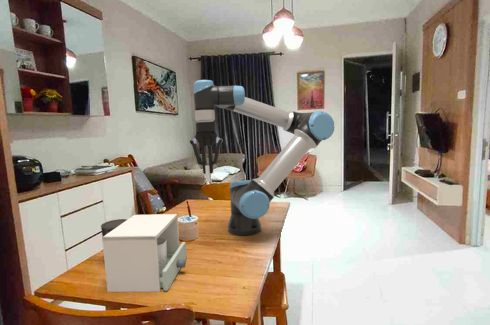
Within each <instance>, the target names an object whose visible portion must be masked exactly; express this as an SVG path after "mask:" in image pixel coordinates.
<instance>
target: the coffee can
mask: <svg viewBox="0 0 490 325" xmlns="http://www.w3.org/2000/svg"><path fill="white" fill-rule="evenodd" d="M128 219H129V218H127V219H125V218H119V219H112V220H108V221H106V222H104V223H101V225H100V228H101V236H102V237H104V236H105V235H106V234H108V233H109V232H111V231H112V230H114V229H115V228H116V227H118V226H119V225H121V224H122V223H123V222H125V221H126V220H128ZM102 237H101V238H102Z"/></svg>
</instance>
